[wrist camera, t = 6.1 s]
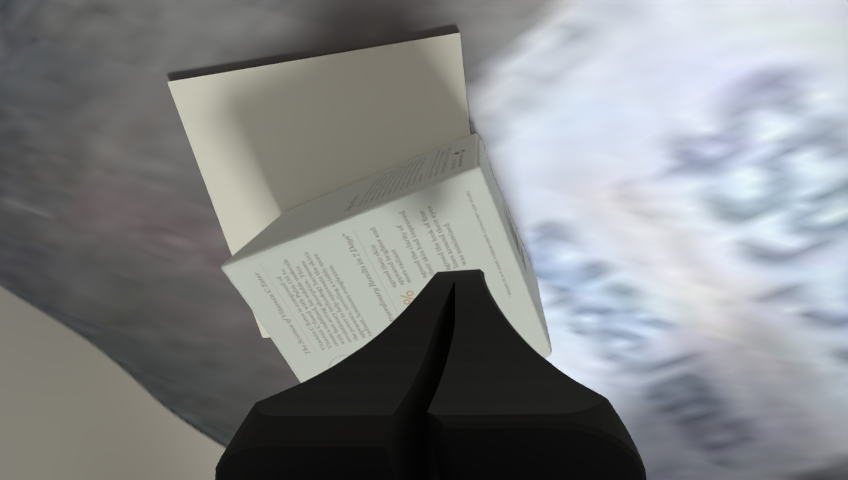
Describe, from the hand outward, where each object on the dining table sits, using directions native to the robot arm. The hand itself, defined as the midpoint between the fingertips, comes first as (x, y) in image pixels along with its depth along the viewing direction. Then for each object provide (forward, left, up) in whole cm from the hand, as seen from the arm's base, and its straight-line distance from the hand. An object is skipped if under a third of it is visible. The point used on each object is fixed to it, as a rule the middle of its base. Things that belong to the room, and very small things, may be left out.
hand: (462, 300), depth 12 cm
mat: (+6, 0, -8) cm, 10 cm away
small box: (-2, +1, -5) cm, 6 cm away
